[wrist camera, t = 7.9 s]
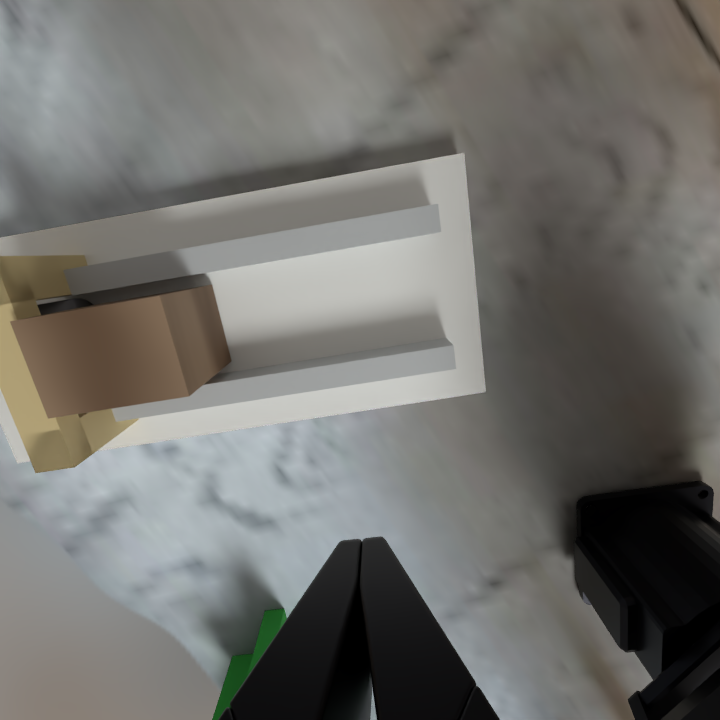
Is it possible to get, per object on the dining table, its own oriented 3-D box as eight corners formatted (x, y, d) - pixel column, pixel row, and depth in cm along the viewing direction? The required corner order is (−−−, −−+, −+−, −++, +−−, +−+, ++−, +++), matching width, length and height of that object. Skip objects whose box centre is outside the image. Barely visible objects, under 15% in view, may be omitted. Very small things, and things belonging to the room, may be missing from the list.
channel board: (458, 158, 17) (500, 116, 12) (479, 385, 19) (522, 433, 14) (-50, 250, 18) (-217, 250, 13) (33, 453, 20) (-78, 521, 15)
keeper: (211, 284, 17) (159, 295, 13) (231, 361, 18) (189, 396, 13) (99, 303, 17) (9, 321, 13) (123, 378, 18) (48, 418, 14)
